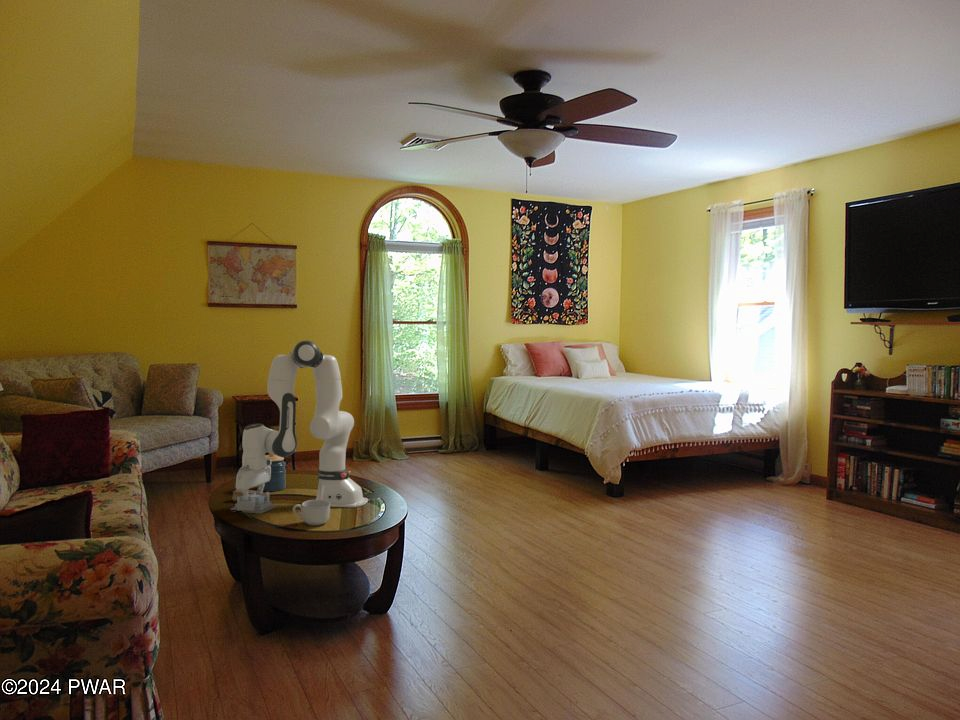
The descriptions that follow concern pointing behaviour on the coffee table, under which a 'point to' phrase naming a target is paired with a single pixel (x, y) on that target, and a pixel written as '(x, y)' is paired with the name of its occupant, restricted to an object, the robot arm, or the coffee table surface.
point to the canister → (276, 474)
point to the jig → (253, 505)
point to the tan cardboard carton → (240, 493)
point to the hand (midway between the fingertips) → (253, 496)
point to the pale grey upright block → (258, 499)
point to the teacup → (314, 511)
